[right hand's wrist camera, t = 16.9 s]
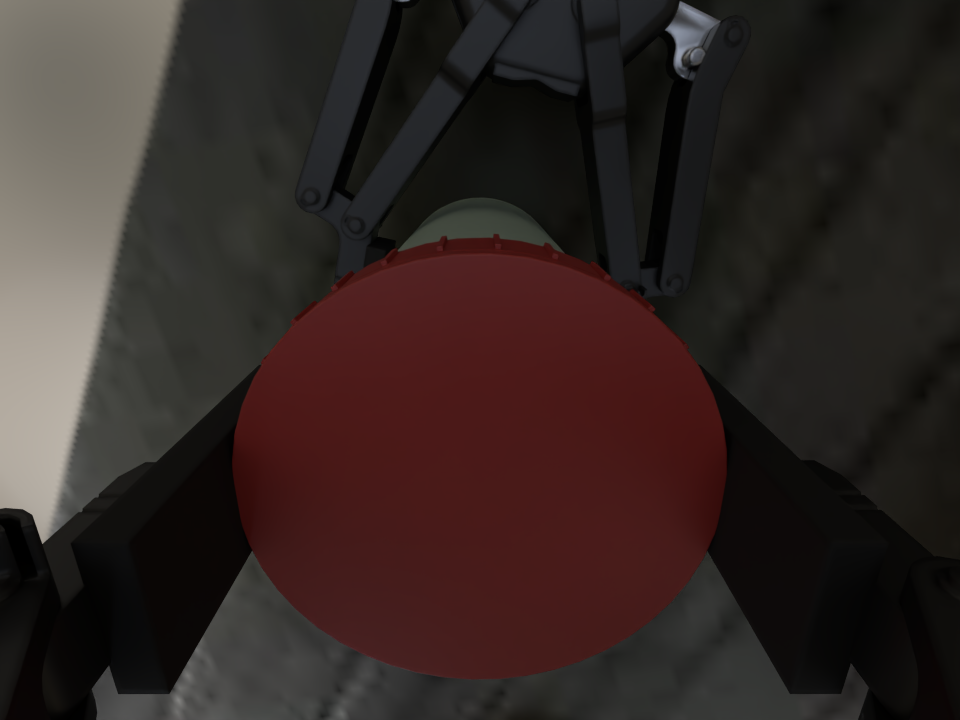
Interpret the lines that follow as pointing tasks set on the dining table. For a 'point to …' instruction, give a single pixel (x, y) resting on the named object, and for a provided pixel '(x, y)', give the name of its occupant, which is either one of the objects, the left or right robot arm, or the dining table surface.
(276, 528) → the lid
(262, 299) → the dining table surface
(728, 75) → the left robot arm
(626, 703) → the dining table surface
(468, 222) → the jar
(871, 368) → the dining table surface
